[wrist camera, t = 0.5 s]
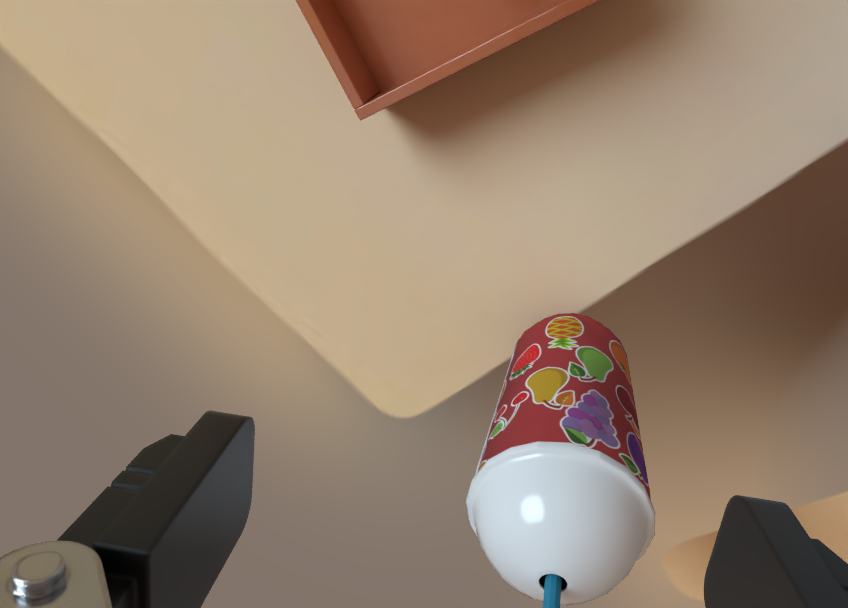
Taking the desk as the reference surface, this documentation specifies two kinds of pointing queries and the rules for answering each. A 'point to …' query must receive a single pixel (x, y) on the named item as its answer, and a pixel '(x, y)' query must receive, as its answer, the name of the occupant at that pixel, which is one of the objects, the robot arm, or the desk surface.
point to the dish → (418, 40)
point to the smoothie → (563, 467)
